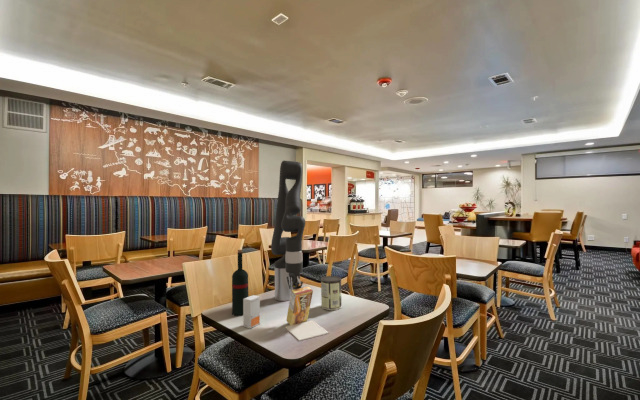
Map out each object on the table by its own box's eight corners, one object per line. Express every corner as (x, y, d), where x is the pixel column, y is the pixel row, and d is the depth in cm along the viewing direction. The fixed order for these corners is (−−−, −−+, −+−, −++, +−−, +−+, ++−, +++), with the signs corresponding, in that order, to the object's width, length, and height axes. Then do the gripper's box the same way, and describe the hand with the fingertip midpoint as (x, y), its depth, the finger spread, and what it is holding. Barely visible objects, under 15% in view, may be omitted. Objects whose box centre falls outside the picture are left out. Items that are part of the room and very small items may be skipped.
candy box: (302, 315, 137) (307, 285, 133) (307, 321, 134) (313, 290, 130) (285, 320, 132) (290, 289, 128) (291, 326, 128) (296, 294, 125)
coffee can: (330, 301, 159) (330, 274, 159) (345, 306, 152) (345, 278, 152) (316, 307, 151) (316, 278, 151) (332, 312, 144) (332, 282, 144)
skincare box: (250, 329, 126) (250, 300, 126) (243, 326, 129) (242, 298, 129) (260, 323, 132) (260, 296, 132) (253, 321, 134) (253, 294, 134)
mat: (285, 327, 127) (285, 326, 127) (312, 321, 134) (312, 320, 134) (299, 341, 115) (299, 339, 115) (328, 333, 121) (328, 332, 121)
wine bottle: (251, 308, 151) (251, 247, 151) (246, 315, 141) (245, 251, 141) (236, 308, 151) (235, 248, 151) (229, 316, 141) (229, 251, 141)
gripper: (308, 262, 131) (308, 302, 130) (295, 257, 142) (296, 294, 142) (292, 264, 127) (292, 306, 127) (280, 259, 139) (281, 297, 138)
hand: (294, 299), depth 135 cm, fingers closed
